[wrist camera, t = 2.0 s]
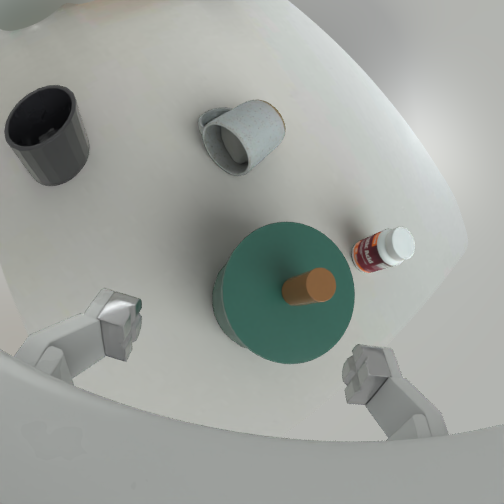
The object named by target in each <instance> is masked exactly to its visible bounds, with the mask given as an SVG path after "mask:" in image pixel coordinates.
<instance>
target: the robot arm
mask: <svg viewBox="0 0 504 504" xmlns="http://www.w3.org/2000/svg"><path fill="white" fill-rule="evenodd" d="M141 308H142V301H141V299H139V298H136V297H132V296H129V295H126V294H123V293H119V292H115V291H112V290H109V289H106V288H103V289H101V291H100V292H99V293H98V295H97V296H96V297H95V299H94V300H93V301H92V303H91V304H90V306H89V307H88V308H87V310H86V311H85V313H84V314H81V313H80V314H77V315H75V316H72V317H70V318H68V319H65V320H63V321H61V322H58V323H56V324H54V325H51V326H49V327H46V328H44V329H42V330H39V331H37V332H35V333H32V334H30V335H29V336H28V338H27V339H26V340H25V342H24V343H23V345H22V346H21V347H20V349H19V350H18V351H17V353H16V354H15V356H14V357H13V356H12V355H10V354H8V353H6V352H4V351H3V350H1V349H0V504H504V425H498V426H493V427H488V428H484V429H479V430H474V431H469V432H463V433H457V434H452V435H449V434H448V431H447V428H446V425H445V422H444V419H443V416H442V413H441V412H440V411H439V410H438V409H437V408H436V407H435V406H434V405H433V404H432V403H431V402H430V401H429V400H428V399H427V398H426V397H425V396H424V395H423V394H422V393H421V392H420V391H419V390H418V389H417V388H416V387H415V386H414V385H412V384H411V383H410V382H409V381H408V380H407V379H406V378H403V377H402V374H401V371H400V368H399V365H398V363H397V360H396V357H395V354H394V352H393V350H392V349H391V348H387V347H376V346H368V345H360V344H358V345H356V346H355V347H354V349H353V350H352V352H353V356H351V357H349V358H347V360H346V362H345V363H344V366H343V370H342V378H343V382H344V383H345V384H346V385H347V387H346V389H345V395H346V401H347V403H348V404H361V405H366V408H367V409H368V410H369V412H370V413H371V414H372V416H373V417H374V419H375V420H376V421H377V423H378V424H379V426H380V427H381V428H382V430H383V431H384V432H385V434H386V435H387V437H388V439H387V440H386V441H363V442H362V441H361V442H347V441H345V442H343V441H314V440H300V439H288V438H278V437H269V436H261V435H254V434H247V433H240V432H234V431H229V430H223V429H218V428H212V427H208V426H203V425H198V424H194V423H189V422H185V421H181V420H177V419H173V418H169V417H165V416H161V415H158V414H154V413H151V412H147V411H144V410H141V409H137V408H134V407H131V406H128V405H125V404H122V403H119V402H116V401H113V400H110V399H107V398H105V397H102V396H99V395H97V394H94V393H91V392H89V391H86V390H84V389H81V388H79V387H76V386H74V384H73V381H72V379H73V378H74V377H76V376H77V375H79V374H80V373H82V372H83V371H85V370H86V369H88V368H89V367H91V366H92V365H94V364H95V363H97V362H98V361H100V360H101V359H103V358H104V357H105V355H106V356H109V357H112V358H115V359H119V360H122V361H125V362H127V359H128V357H129V355H130V353H131V351H132V342H134V341H136V340H137V338H138V336H139V333H140V329H141V323H142V316H141V315H140V313H139V312H140V310H141Z"/></svg>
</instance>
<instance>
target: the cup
mask: <svg viewBox="0 0 504 504" xmlns="http://www.w3.org/2000/svg"><path fill="white" fill-rule="evenodd" d="M4 132H5V138H6V141H7V143H8V144H9V146H10V147H11V148H12V150H13V151H14V153H15V154H16V155H17V157H18V158H19V160H20V161H21V162H22V164H23V165H24V166H25V168H26V169H27V170H28V172H29V173H30V174H31V176H32V177H33V178H34V179H35V180H36V181H37V182H38V183H40V184H42V185H46V186H56V185H60V184H63V183H65V182H67V181H69V180H70V179H72V178H73V177H74V176H76V175H77V174H78V173H79V172H80V170H81V169H82V168H83V166H84V165H85V163H86V161H87V158H88V155H89V141H88V137H87V134H86V131H85V128H84V125H83V122H82V119H81V115H80V112H79V109H78V105H77V102H76V99H75V96H74V94H73V92H72V91H70V90H69V89H68V88H67V87H63V86H60V85H49V86H45V87H42V88H39V89H37V90H35V91H33V92H31V93H29V94H28V95H26V96H25V97H24V98H23V99H22V100H20V101H19V102H18V103H17V105H16V106H15V107H14V108H13V110H12V111H11V113H10V115H9V117H8V119H7V121H6V125H5V131H4Z"/></svg>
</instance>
